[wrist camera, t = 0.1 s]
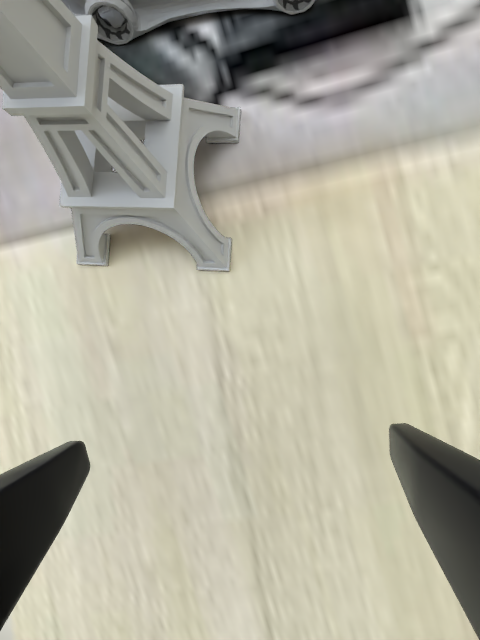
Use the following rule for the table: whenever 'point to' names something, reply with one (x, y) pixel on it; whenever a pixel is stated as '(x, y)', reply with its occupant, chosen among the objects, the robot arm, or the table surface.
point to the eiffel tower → (110, 132)
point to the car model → (163, 13)
